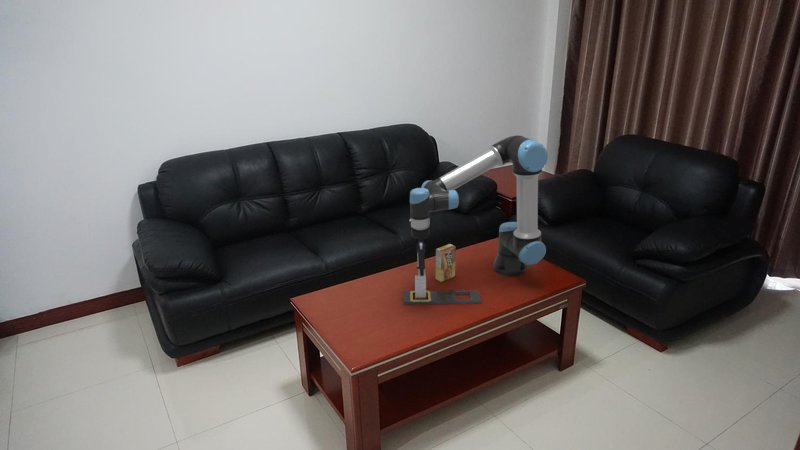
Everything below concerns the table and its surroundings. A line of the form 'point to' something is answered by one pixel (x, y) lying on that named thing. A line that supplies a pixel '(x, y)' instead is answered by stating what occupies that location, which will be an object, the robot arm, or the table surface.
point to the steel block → (420, 289)
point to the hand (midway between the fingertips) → (421, 274)
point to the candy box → (445, 262)
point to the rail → (443, 297)
